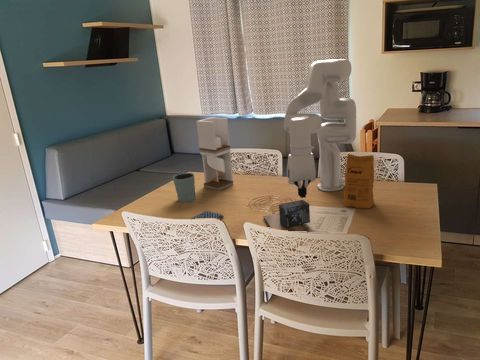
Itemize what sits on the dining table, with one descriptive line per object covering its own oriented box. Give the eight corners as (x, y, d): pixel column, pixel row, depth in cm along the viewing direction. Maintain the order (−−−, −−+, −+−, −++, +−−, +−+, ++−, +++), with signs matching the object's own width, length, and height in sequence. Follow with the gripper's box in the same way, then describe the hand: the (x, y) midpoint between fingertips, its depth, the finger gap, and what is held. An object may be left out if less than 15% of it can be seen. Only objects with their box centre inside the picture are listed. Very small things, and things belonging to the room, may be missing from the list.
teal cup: (201, 198, 196) (198, 174, 193) (185, 204, 190) (181, 180, 186) (187, 194, 203) (184, 171, 200) (171, 200, 196) (168, 177, 193)
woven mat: (208, 227, 163) (208, 223, 163) (190, 222, 170) (189, 218, 169) (225, 218, 171) (225, 214, 170) (207, 214, 178) (207, 209, 177)
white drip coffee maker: (204, 186, 212) (196, 121, 202) (218, 181, 220) (211, 117, 209) (219, 190, 205) (212, 122, 194) (233, 184, 213) (227, 118, 202)
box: (310, 222, 155) (286, 228, 152) (303, 217, 160) (279, 223, 157) (309, 203, 153) (284, 209, 149) (302, 199, 158) (278, 204, 155)
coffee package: (347, 198, 179) (347, 150, 173) (376, 202, 173) (377, 152, 166) (340, 206, 171) (340, 156, 165) (370, 210, 165) (371, 158, 158)
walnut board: (292, 214, 167) (292, 211, 167) (308, 232, 151) (307, 228, 150) (263, 219, 165) (263, 216, 165) (275, 237, 149) (275, 233, 148)
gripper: (315, 146, 155) (317, 191, 161) (278, 151, 153) (281, 196, 158) (323, 150, 148) (324, 197, 154) (284, 155, 146) (287, 202, 151)
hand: (302, 196), depth 156 cm, fingers closed
